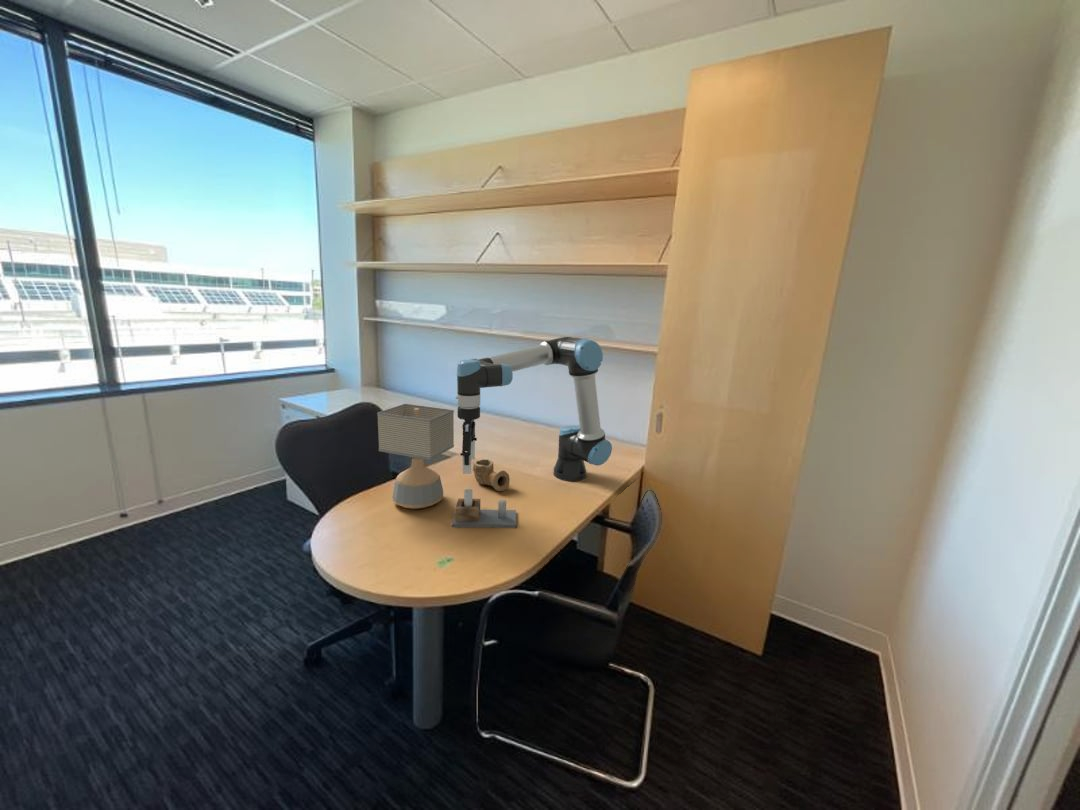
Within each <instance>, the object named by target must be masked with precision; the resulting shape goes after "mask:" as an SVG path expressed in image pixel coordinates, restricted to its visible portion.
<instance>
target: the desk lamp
mask: <svg viewBox="0 0 1080 810" xmlns="http://www.w3.org/2000/svg"><path fill="white" fill-rule="evenodd" d="M454 411H455V410H454V409H450V408H449V409H447V408H440V407H434V406H432V407H431V406H424V405H417V404H410V403H402V404H400V405H397V406H393V407H390V408H388V409H384V410H381V411H378V412H377V413H376V414H377V415H376V416H377V428H378V429H377V431H378V432H377V433H378V452H380V453H381V452H383V453H387V454H393V455H397V456H398V455H399V456H404V457H405V456H406V457H411V458H412V459H411V465H410V467H409V468H406V469H405V470H403V471H402V472H400V473H399V474H398V475H397V476H396V477H395V482H394V486H393V492H392V501H393V503H395V505H397V506H401V507H402V508H406V509H410V510H411V509H412V510H413V509H414V510H418V509H419V510H420V509H425V508H428V507H431V506H433V505H435V504H437V503H439V502H440V501H441V500H442V499H443V498H444V488H443V483H442V480H441V476H440V474H439V472H437V471H436V470H433V469H432V468H429V467H427V466H425V463H424V462H425V461H424V460H426V461H427V460H428V461H431V460H434V459H435V458H437V457H439V456H440V455H442V454H444V453H446V452H448V451H449V450H451V449H453V448H454V447H455V445H454V443H455V442H454V438H455V436H454V432H455V431H454V430H455V429H454V426H455V425H454V423H455V422H454V420H455V419H454Z"/></svg>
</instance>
